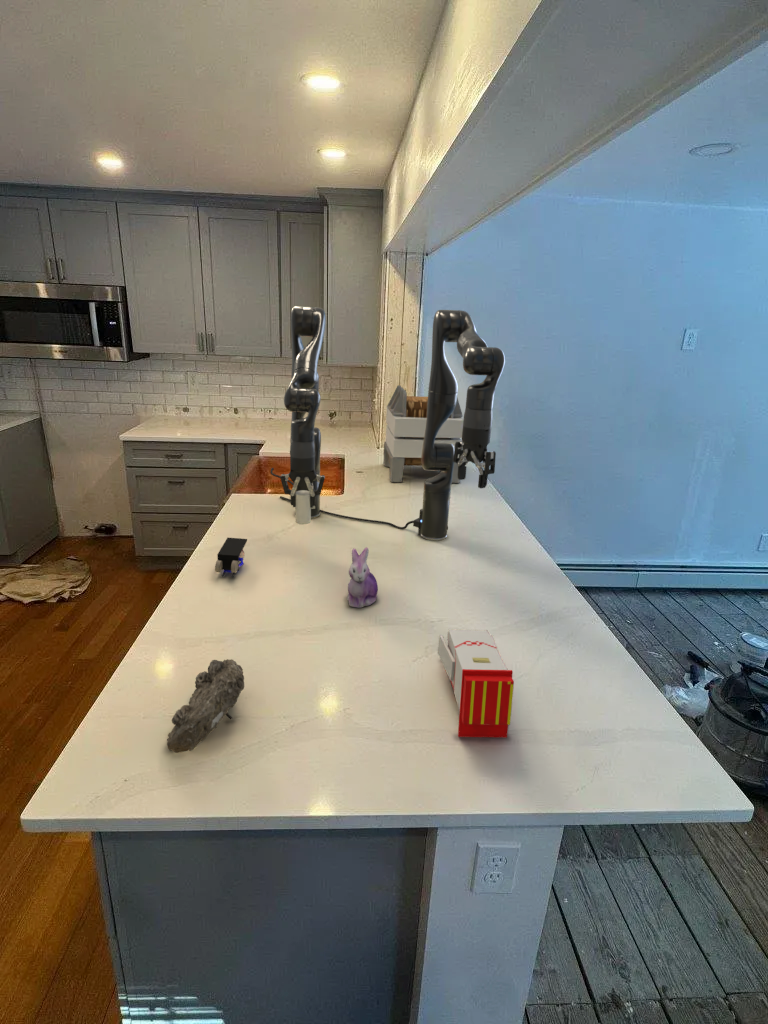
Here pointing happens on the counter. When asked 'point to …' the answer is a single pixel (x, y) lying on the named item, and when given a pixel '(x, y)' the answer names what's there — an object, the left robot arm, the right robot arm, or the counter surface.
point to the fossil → (206, 705)
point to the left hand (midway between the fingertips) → (302, 506)
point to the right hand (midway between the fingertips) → (471, 483)
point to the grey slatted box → (414, 432)
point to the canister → (302, 507)
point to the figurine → (361, 581)
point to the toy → (478, 682)
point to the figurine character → (230, 556)
